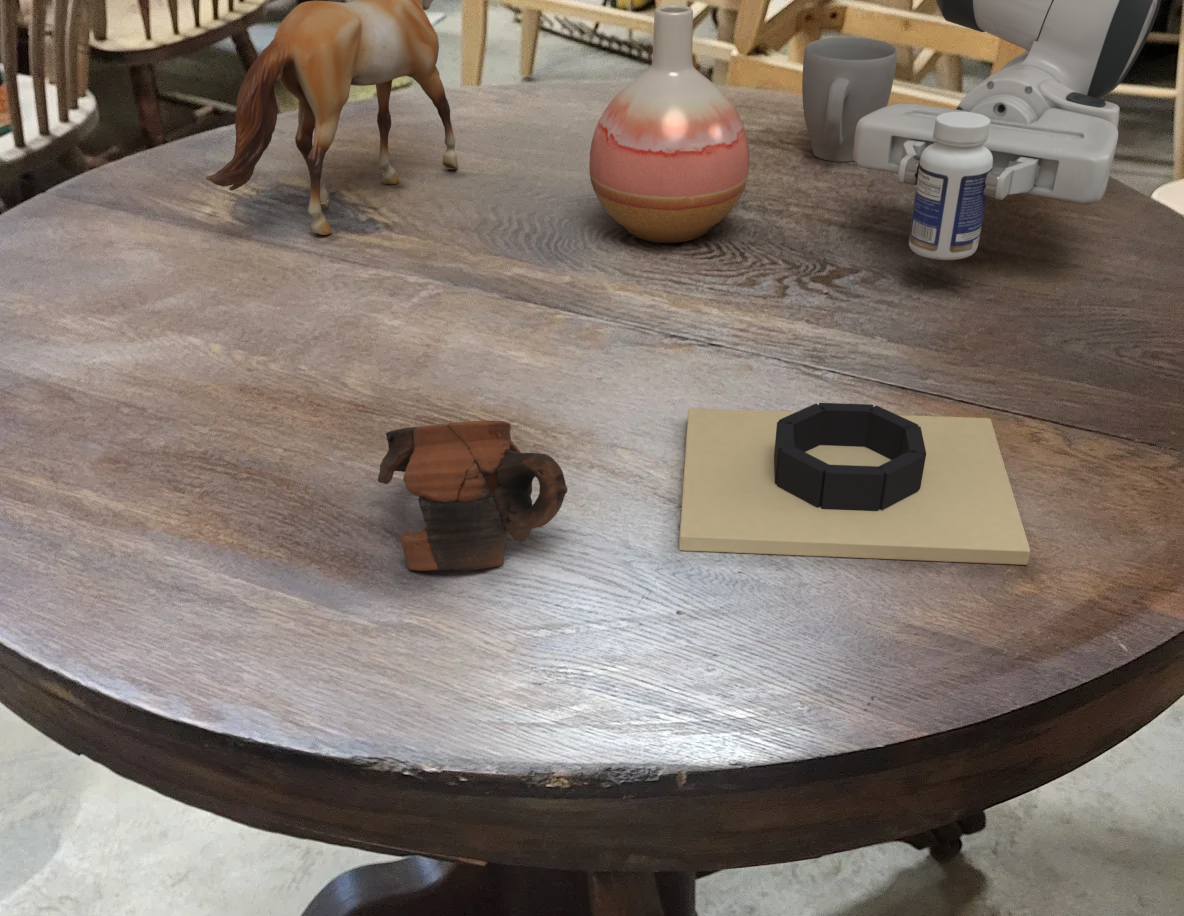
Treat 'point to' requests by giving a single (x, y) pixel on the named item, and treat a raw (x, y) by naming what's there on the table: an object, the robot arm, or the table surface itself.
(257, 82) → the horse figurine
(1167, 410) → the table surface
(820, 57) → the mug
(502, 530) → the pottery mug
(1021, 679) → the table surface
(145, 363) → the table surface
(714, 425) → the socket pad
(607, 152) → the vase
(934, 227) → the pill bottle
